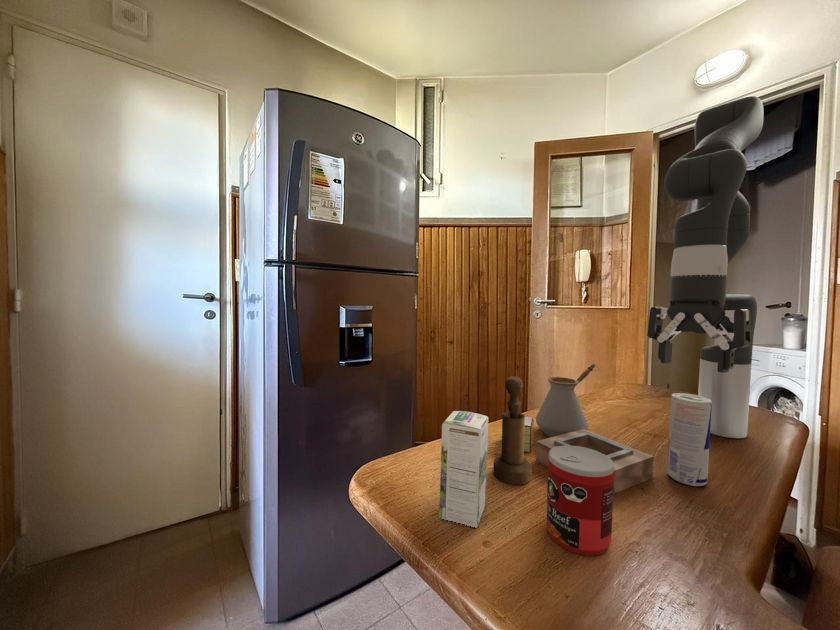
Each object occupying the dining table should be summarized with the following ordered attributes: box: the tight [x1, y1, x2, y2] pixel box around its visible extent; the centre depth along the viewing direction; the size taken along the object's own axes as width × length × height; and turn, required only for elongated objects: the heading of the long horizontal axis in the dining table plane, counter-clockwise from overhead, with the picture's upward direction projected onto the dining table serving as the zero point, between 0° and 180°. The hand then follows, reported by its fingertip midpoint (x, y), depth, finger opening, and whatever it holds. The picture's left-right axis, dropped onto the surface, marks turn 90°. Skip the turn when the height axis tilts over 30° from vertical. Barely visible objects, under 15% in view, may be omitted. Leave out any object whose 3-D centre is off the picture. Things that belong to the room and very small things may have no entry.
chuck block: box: [535, 429, 654, 495], centre depth 64 cm, size 14×14×5 cm
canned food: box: [545, 445, 614, 557], centre depth 46 cm, size 8×8×11 cm
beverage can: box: [667, 392, 712, 487], centre depth 60 cm, size 6×6×15 cm
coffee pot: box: [535, 363, 600, 438], centre depth 83 cm, size 21×12×15 cm, turn 127°
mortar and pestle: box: [492, 375, 532, 486], centre depth 61 cm, size 7×6×18 cm
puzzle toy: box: [524, 416, 535, 453], centre depth 74 cm, size 6×6×6 cm
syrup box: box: [438, 410, 489, 529], centre depth 50 cm, size 6×6×14 cm
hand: (692, 367), depth 60 cm, fingers open, 8 cm apart
